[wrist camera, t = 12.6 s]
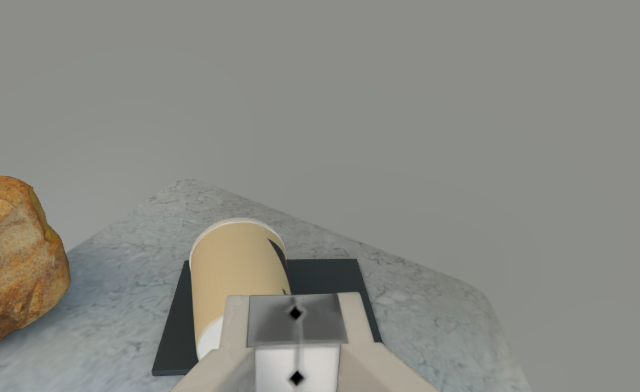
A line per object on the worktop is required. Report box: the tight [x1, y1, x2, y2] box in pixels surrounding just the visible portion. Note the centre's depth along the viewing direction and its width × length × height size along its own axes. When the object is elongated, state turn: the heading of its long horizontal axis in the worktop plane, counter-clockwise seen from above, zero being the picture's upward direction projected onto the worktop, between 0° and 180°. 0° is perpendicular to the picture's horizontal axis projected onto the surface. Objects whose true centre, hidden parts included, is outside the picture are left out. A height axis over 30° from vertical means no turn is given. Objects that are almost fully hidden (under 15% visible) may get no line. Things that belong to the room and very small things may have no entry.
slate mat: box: [152, 259, 382, 376], centre depth 45 cm, size 20×16×1 cm
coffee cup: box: [189, 217, 291, 361], centre depth 39 cm, size 9×9×12 cm
